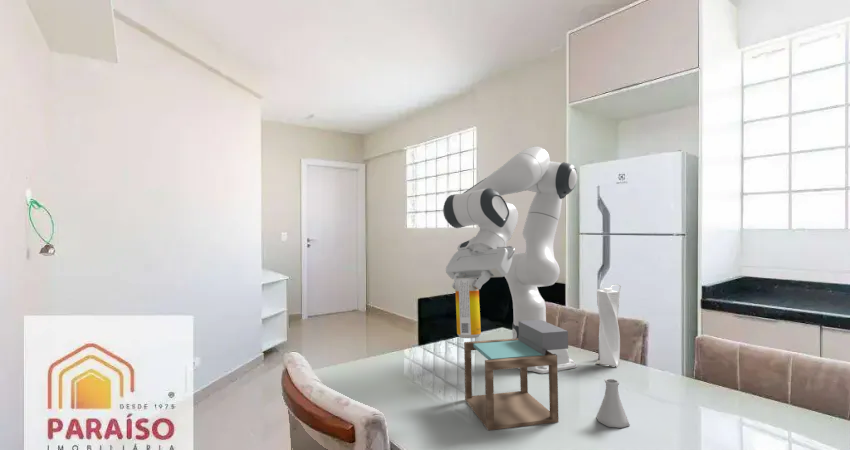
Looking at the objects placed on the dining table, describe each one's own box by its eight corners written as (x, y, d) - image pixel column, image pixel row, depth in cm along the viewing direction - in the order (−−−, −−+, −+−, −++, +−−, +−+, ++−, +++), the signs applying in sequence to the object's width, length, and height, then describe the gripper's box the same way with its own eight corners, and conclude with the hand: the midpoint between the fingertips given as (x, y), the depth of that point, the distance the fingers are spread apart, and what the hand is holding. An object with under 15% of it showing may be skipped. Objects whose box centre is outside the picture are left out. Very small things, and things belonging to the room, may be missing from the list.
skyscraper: (624, 362, 143) (622, 283, 144) (621, 369, 136) (619, 286, 137) (598, 359, 147) (596, 282, 148) (595, 365, 141) (593, 284, 141)
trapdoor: (541, 342, 116) (541, 319, 116) (568, 356, 103) (567, 331, 103) (473, 347, 112) (473, 324, 112) (491, 362, 98) (491, 336, 99)
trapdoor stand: (525, 393, 117) (524, 337, 117) (558, 421, 99) (557, 356, 100) (465, 399, 113) (464, 342, 114) (488, 430, 96) (487, 362, 96)
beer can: (482, 335, 106) (479, 277, 108) (479, 338, 100) (476, 277, 102) (459, 335, 107) (457, 278, 110) (454, 338, 102) (452, 278, 104)
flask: (591, 415, 102) (590, 376, 103) (618, 414, 103) (617, 374, 103) (606, 429, 95) (605, 386, 95) (635, 428, 96) (634, 385, 96)
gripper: (523, 254, 106) (503, 295, 99) (466, 259, 121) (445, 295, 114) (510, 237, 104) (489, 278, 96) (455, 245, 119) (432, 281, 112)
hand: (465, 287), depth 105 cm, fingers closed on beer can, 6 cm apart
